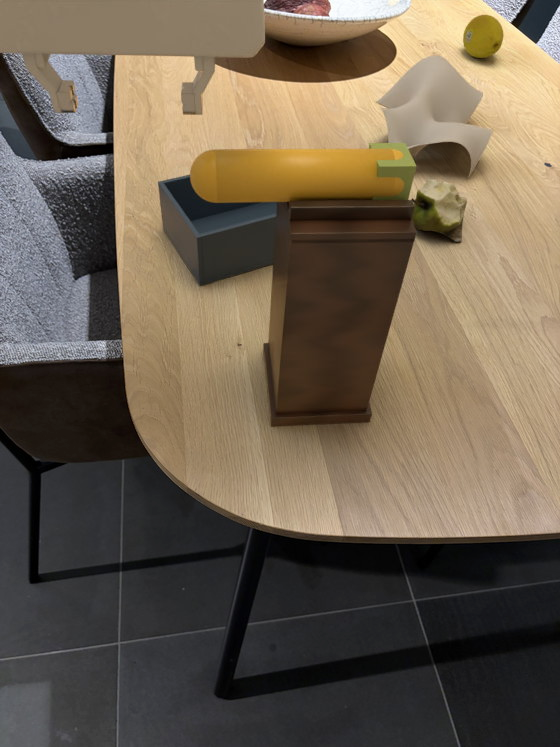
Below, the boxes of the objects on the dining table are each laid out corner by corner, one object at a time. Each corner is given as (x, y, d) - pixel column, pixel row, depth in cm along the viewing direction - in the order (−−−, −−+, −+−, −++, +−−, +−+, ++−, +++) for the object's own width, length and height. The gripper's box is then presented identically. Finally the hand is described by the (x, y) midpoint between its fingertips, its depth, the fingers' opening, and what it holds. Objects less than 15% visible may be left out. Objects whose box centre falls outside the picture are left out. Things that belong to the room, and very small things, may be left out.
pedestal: (270, 426, 65) (286, 224, 45) (262, 351, 72) (273, 148, 52) (370, 422, 66) (428, 223, 46) (352, 348, 73) (397, 148, 53)
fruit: (411, 252, 88) (412, 203, 83) (400, 219, 95) (401, 171, 89) (475, 244, 87) (480, 194, 82) (460, 211, 94) (464, 163, 88)
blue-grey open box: (199, 286, 79) (196, 237, 73) (163, 230, 86) (157, 181, 80) (342, 243, 87) (350, 196, 81) (297, 195, 94) (302, 148, 88)
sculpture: (488, 182, 99) (509, 125, 92) (374, 172, 99) (386, 114, 92) (468, 110, 116) (484, 57, 108) (370, 101, 116) (379, 47, 108)
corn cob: (191, 213, 47) (188, 166, 44) (190, 185, 50) (188, 139, 47) (412, 209, 49) (424, 165, 46) (401, 182, 52) (411, 139, 49)
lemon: (454, 46, 136) (464, 6, 129) (487, 47, 136) (499, 8, 130) (466, 67, 129) (478, 26, 122) (501, 68, 129) (515, 28, 123)
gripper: (271, -129, 37) (266, 92, 48) (-70, -141, 36) (4, 88, 47) (275, -99, 33) (269, 134, 44) (-107, -112, 32) (-17, 130, 43)
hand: (130, 110), depth 46 cm, fingers open, 8 cm apart
